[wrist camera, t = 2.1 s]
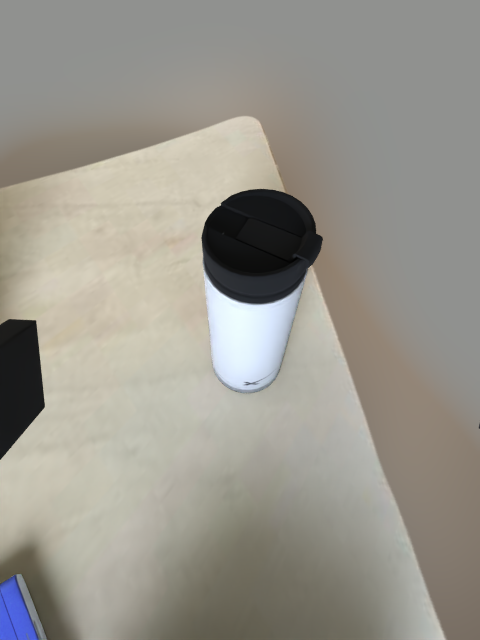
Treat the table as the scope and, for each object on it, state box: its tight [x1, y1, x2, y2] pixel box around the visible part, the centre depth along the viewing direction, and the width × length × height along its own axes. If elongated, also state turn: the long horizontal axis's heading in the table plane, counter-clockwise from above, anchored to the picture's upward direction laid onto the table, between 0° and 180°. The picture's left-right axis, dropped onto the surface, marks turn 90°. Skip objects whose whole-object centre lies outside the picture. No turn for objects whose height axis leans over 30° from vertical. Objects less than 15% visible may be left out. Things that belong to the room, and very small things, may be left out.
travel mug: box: [202, 189, 323, 393], centre depth 33 cm, size 6×7×20 cm
